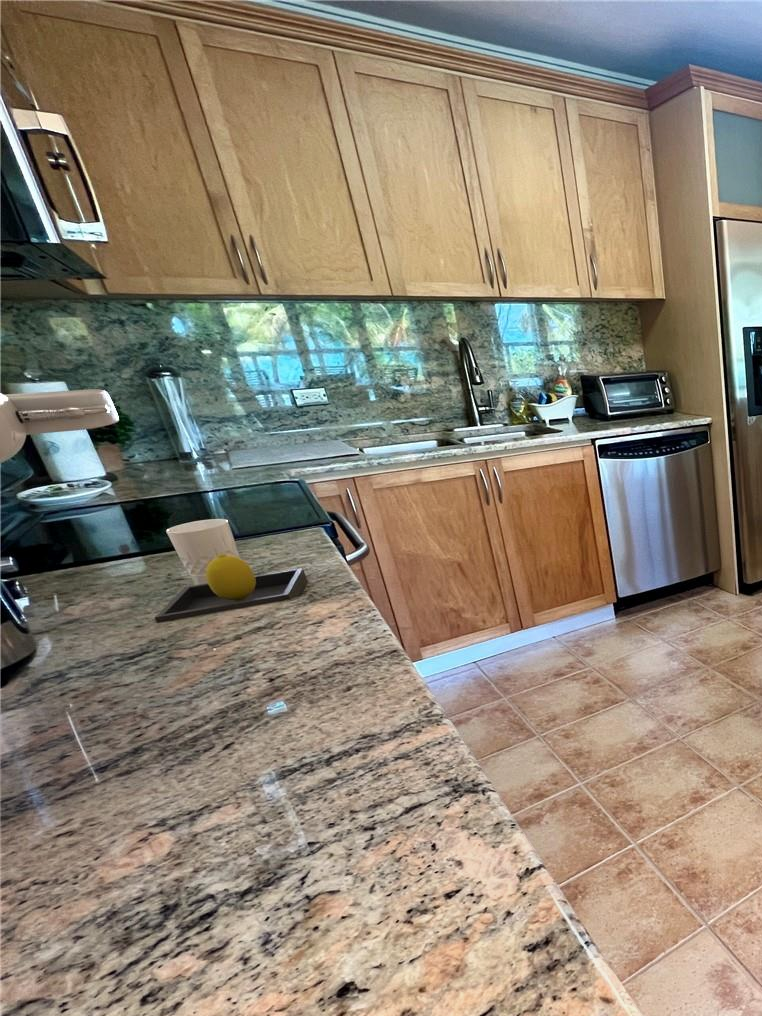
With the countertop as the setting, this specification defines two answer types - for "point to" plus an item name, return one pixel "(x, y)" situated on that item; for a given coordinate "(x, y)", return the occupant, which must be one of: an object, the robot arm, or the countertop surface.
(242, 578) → the lemon
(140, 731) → the countertop surface
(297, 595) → the tray
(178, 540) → the white cup
